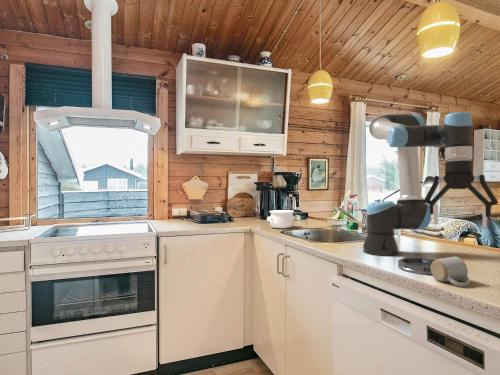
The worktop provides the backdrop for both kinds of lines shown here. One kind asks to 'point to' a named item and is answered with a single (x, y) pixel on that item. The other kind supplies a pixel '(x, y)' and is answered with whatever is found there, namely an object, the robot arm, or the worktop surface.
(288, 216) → the pot
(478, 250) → the worktop surface
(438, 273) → the ceramic mug
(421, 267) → the ring plate
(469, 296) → the worktop surface
